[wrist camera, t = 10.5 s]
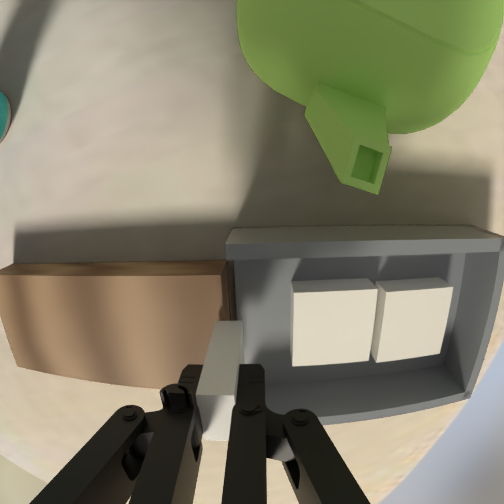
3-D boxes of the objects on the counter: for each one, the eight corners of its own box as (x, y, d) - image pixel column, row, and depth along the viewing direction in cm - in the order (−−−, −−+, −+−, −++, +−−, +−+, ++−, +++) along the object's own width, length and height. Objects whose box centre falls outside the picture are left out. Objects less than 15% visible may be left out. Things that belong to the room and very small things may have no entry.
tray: (242, 388, 23) (238, 428, 18) (232, 227, 20) (224, 244, 15) (446, 368, 22) (470, 398, 18) (472, 225, 19) (509, 238, 15)
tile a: (289, 350, 21) (292, 366, 19) (290, 281, 20) (293, 292, 18) (360, 345, 21) (368, 360, 19) (367, 278, 20) (377, 288, 18)
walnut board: (35, 349, 23) (17, 366, 20) (12, 263, 21) (-11, 274, 18) (233, 366, 22) (230, 392, 19) (226, 259, 20) (220, 274, 17)
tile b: (439, 353, 19) (428, 340, 21) (453, 286, 18) (439, 277, 20) (376, 362, 19) (367, 347, 21) (386, 292, 18) (375, 281, 20)
